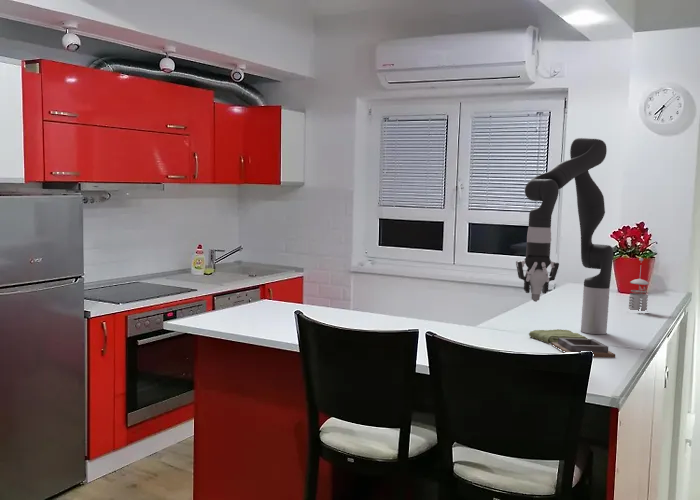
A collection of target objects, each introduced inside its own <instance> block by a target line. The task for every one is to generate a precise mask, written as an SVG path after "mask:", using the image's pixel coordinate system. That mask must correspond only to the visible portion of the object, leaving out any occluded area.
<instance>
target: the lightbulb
mask: <svg viewBox="0 0 700 500" xmlns="http://www.w3.org/2000/svg"><path fill="white" fill-rule="evenodd" d="M546 280H547V276H546V274H545V273H544V272H543V270H541V269H536V270H534V272H533V274H532V275H530V280H529V282H530V293H531V297H530V298H531V301H533V302H538V301H540V297H541V294H542V287H543V285H544V284H545V282H546Z"/></svg>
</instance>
